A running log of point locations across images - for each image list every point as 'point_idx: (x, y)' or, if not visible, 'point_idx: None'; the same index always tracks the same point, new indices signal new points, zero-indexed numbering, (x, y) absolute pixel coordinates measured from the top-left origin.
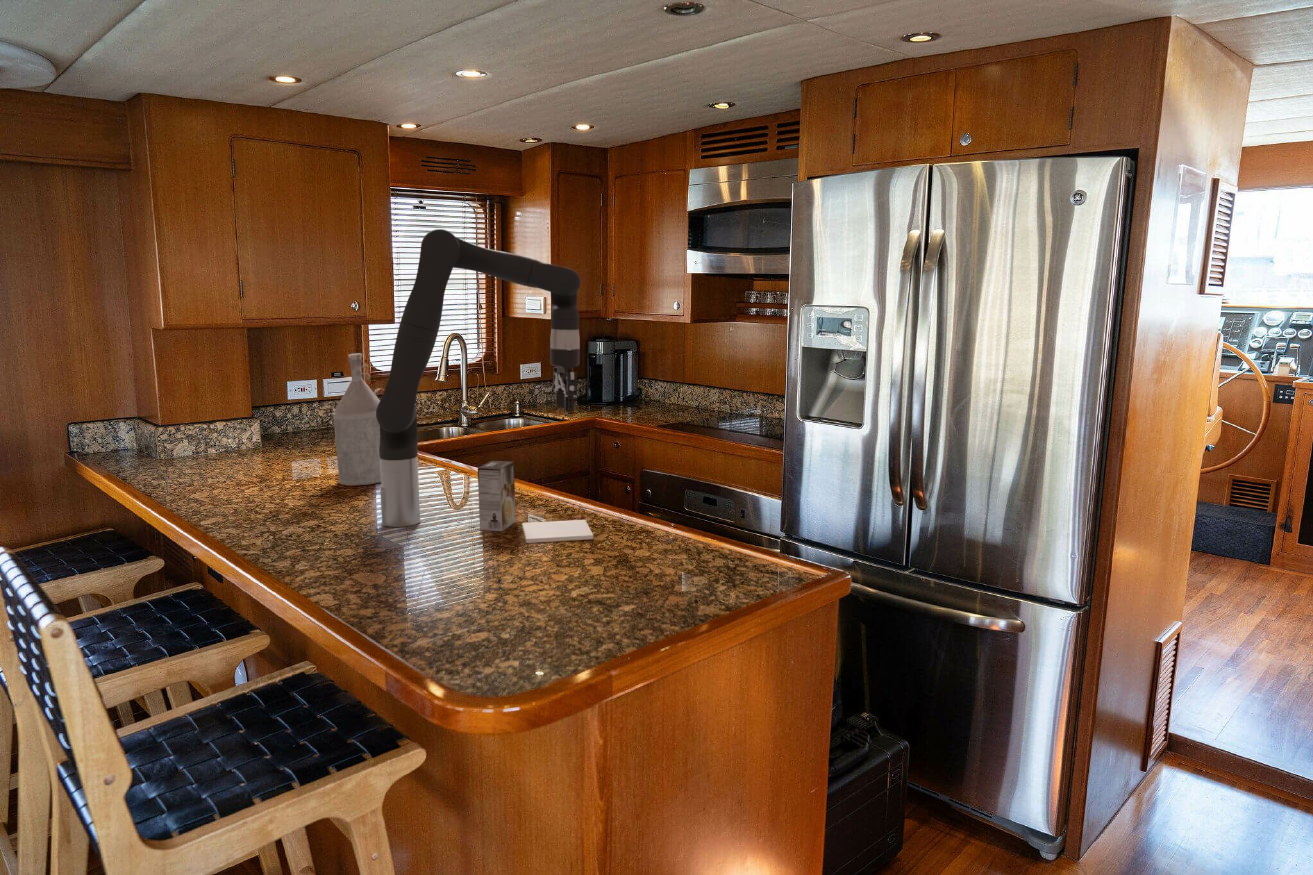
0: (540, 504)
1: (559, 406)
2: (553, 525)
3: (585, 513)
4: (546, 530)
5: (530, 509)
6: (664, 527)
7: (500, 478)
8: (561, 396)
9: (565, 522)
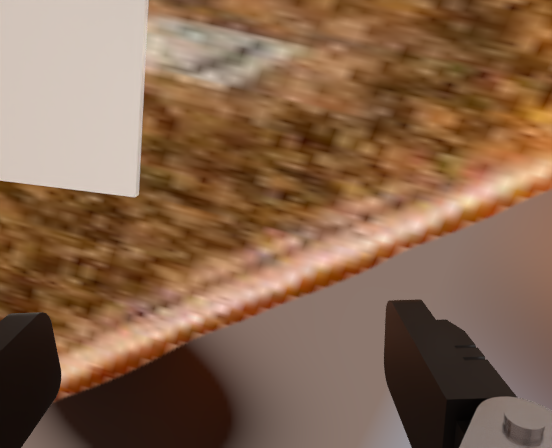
0: (407, 114)
1: (387, 328)
2: (91, 85)
3: (249, 224)
4: (38, 49)
5: (356, 66)
6: None
7: None
8: (421, 430)
9: (117, 131)
